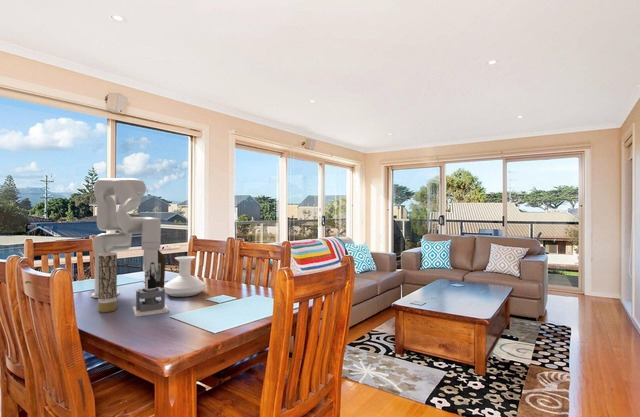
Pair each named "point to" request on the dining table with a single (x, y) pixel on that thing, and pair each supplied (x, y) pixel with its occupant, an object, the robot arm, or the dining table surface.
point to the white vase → (184, 280)
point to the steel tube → (149, 300)
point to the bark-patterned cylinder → (107, 282)
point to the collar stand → (151, 308)
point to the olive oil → (160, 270)
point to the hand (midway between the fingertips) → (150, 286)
